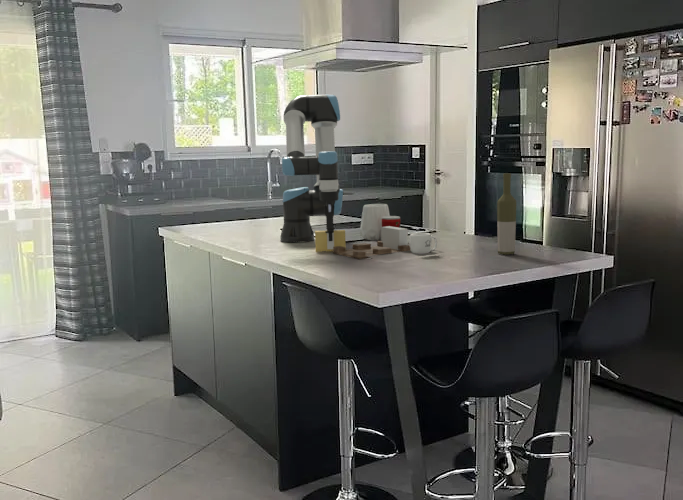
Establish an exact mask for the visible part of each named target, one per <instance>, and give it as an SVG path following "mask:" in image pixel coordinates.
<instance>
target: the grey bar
mask: <svg viewBox="0 0 683 500" xmlns="http://www.w3.org/2000/svg"><path fill="white" fill-rule="evenodd" d="M408 232H409V231H408V228H403V227H401V228H398V227H392V226H386V227H381V240H380V241H381V242H383V247H389V248H392V249H396V250H398V248H400V247H398V245H399V246H400V245H409V244H408V243H409V241H408V240H409V237H408Z"/></svg>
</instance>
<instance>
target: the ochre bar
mask: <svg viewBox="0 0 683 500" xmlns="http://www.w3.org/2000/svg"><path fill="white" fill-rule="evenodd" d="M325 231H327V229H325V230H314V243H315V244H314V245H315V252H316V253H320V252H321V253H323V252H322V251H326V252H333V249H327V233H325ZM333 233H334V247H336V246H342V247H345V250H347V248H346V247H347V246H346V230H345V229H336V230H335V229H334V232H333Z"/></svg>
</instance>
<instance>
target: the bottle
mask: <svg viewBox="0 0 683 500" xmlns="http://www.w3.org/2000/svg"><path fill="white" fill-rule="evenodd" d="M502 174H503V176H502V178H503V190H502V191H503V193H502V195H501V196H500V197H499V198H498V200H497V203H496V204H497V205H496V214H497V215H496V216H497V217H496V218H497V219H496V220H497V225H496V227H497V233H496V234H497V254H499V255H501V254H502V255H503V256H511V255H510V254H512V255H514V254H515V251H516V231H517V229H516V228H517V227H516V226H517V200H516V198H514V196H513V195H512V193H511V185H512V184H511V181H512V179H511V178H512V174H511V172H510V173H509V172H505V173H502Z"/></svg>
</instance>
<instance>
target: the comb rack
mask: <svg viewBox="0 0 683 500" xmlns="http://www.w3.org/2000/svg"><path fill="white" fill-rule="evenodd" d="M376 241H377V243H376V245H373V246H372V244H371V243H367V242H363V243H353V244H351V245H352V248H349V249H345V247H342V246H336V247H333V251H332V252H333V254H335V255H340V256H343V257H348V258H352V259H357V260H365V259H371V257H372V256H379V255H386V254H387V255H388V254H392V253H393V254H394V253H401V252H408V251H410V252H411V249H410V245H409V244H408V245H400V246H399V245H398V247H400V248H398V250H396V249H392V248H389V247H383V242H381V240H376Z"/></svg>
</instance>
